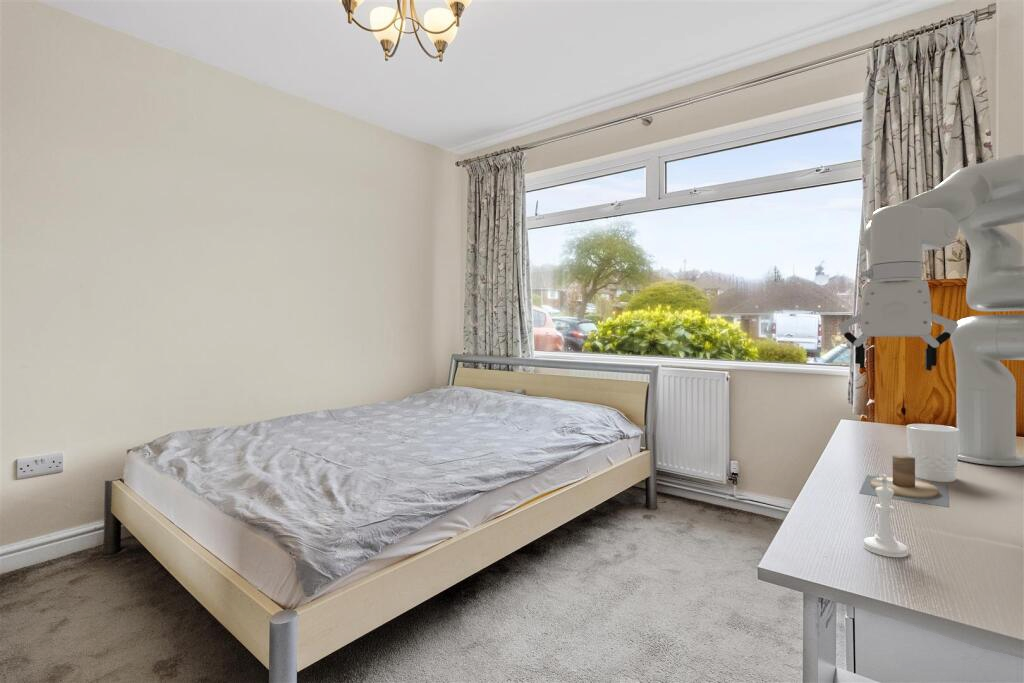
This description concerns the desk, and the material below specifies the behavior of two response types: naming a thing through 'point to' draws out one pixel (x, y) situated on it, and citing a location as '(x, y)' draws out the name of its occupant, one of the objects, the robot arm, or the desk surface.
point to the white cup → (934, 451)
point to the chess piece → (885, 526)
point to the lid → (907, 480)
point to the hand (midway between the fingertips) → (894, 369)
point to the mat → (938, 501)
